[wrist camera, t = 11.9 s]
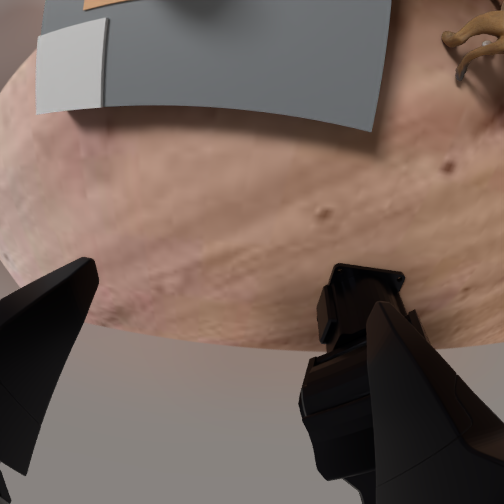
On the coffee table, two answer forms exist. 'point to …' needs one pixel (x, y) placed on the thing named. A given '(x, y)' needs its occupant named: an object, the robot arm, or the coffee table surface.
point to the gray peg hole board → (216, 56)
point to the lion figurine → (488, 23)
